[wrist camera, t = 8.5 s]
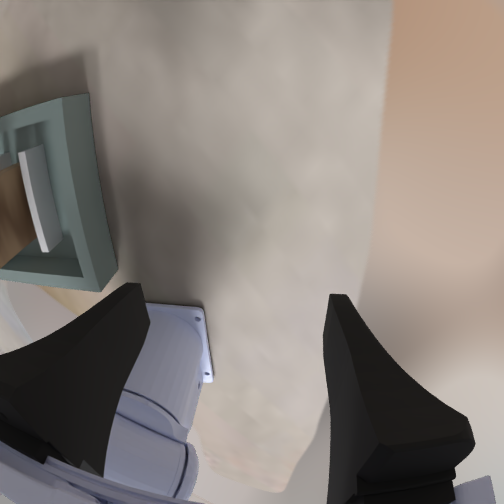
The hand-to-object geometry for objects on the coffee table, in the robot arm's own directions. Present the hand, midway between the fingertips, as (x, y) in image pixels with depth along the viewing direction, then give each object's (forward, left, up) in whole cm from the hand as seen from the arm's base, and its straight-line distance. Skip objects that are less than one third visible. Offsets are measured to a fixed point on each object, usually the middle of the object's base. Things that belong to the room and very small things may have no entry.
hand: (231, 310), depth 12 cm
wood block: (+2, +18, -10) cm, 21 cm away
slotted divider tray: (+2, +18, -10) cm, 21 cm away
